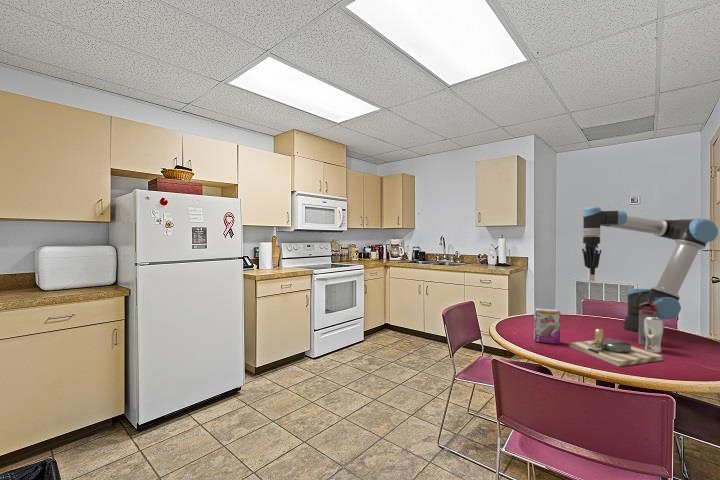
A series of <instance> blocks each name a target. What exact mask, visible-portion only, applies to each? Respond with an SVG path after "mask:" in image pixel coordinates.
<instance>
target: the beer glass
mask: <svg viewBox="0 0 720 480" xmlns="http://www.w3.org/2000/svg"><path fill="white" fill-rule="evenodd" d="M644 334H645V339H646V344H645V345H644V350H646V351H649V352H652V353H655V354H660V353H662V352H663V351H662V344H661V343H662V339H663V336H664V319H661V318H656V317H644Z"/></svg>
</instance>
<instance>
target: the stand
mask: <svg viewBox="0 0 720 480" xmlns="http://www.w3.org/2000/svg"><path fill="white" fill-rule="evenodd" d="M591 343H595V339H594V340H593V339H592V340H585V341H584V340H583V341H576V342H573V341H572V342H570V343H569V347H570V348H571V349H574V350H576V351H578V352H581V353H584V354H587V355H588V356H589V355H590V356H592V357H594V358H597V359H600V360H601V361H605V362H607V363H610V364H612V365H614V366H617V367H624V366H625V367H626V366H631V365H639V364H645V363H652V362H660V361H663V355H661V354H659V353H655V352H650V351H647V350H645V349H643V348H639V347H637V346H634V345H631V352H629V353H617V352H611V351H607V350H604V349H602V348H597V347H595V345H592V344H591Z"/></svg>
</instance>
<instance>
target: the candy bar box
mask: <svg viewBox="0 0 720 480" xmlns="http://www.w3.org/2000/svg"><path fill="white" fill-rule="evenodd" d="M533 310H534V311H533V313H534V316H533V319H534V320H533V340H534V342H535V343H543V344H552V345H554V344H555V345H560V344H561V343H560V340H561V311H560V310H559V309H549V308H548V309H547V308H537V307H534V309H533Z"/></svg>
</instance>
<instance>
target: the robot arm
mask: <svg viewBox="0 0 720 480" xmlns="http://www.w3.org/2000/svg"><path fill="white" fill-rule="evenodd" d="M582 214H583V216H582V219H583V221H582V222H583V223H582V225H583V228H582V229H583V230H582V234H583V235H582V236H583V238H582V243H583V244H585V245H584V248H582V249H581V250H582V251H581V252H582V255H583V261H584V262H583V263H584V267H586V268H587V281H589V282H591V281H592V282H595V280H596V279H595V278H596V277H595V275H596V269H597V268H599V264H600V259H601V254H602V249H599V246H598V245H599V244H601V237H600V236H601V227H607V228H613V229H620V230H626V231H633V232H639V233H646V234H653V235H654V236H656V237H661V238H665V239H669V240H674V243H675V244H676V245H675V247H674V249H673V252H672V253H671V255H670V258H669V260H668V262H667V264H666V266H665V267H664V268H665V269H664V270H663V272H662V275H661V276H660V278H659V280H658V283H657V285H656V286H653V287H651V288H650V289H649V288H629V289H628V291H627V294H626V295H627V314H626V317H625V319H624V322H623V329H625V330H628V331H631V332H636V333H639V305H640V304H641V303H644V302H647V300H648V298H649V302H651V303H653V304H655V305H657V318H660V319H663V320H669V319H670V320H671V319H673V318H676V317H677V316H678V315H679V314H680V312H681V310H682V308H681V303H680V302H679V300H680V299H681V296H680V295H679V294H678V293H679V292H680V289H681V287H682V285H683V283H684V281H685V280H686V277H687V276H688V273H689V271H690V269H691V267H692V265H693V263H694V261H695V259H696V257H697V255H698V253H699V251H701V250H704V249H705V248H706V246H707V244H708V243H710V242H713V241H714V240H716V239H717V237H718V236H719V230H718V227H717V225H716V223H714V221H712V220H710V219H707V218H687V219H684V218H683V219H662V218H661V219H659V220H656V219H651V218H650V219H649V218H643V217H637V216H631V215H628V214H627V212H625V211H624V210H602V209H601V207H600V206H592V207H591V206H590V207H589V206H588V207H585V208H583V213H582Z"/></svg>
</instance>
